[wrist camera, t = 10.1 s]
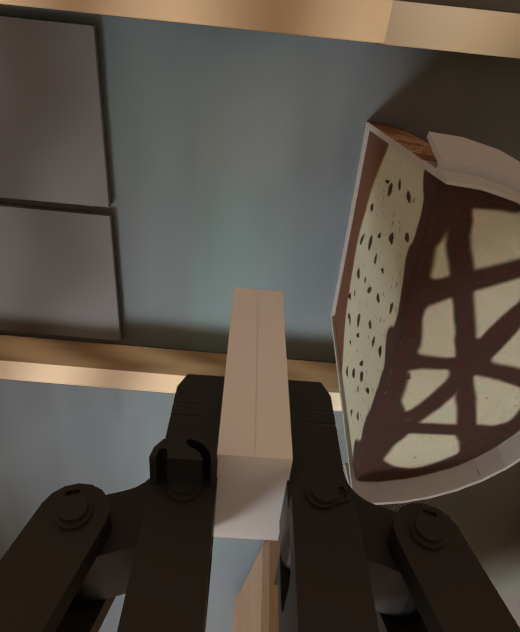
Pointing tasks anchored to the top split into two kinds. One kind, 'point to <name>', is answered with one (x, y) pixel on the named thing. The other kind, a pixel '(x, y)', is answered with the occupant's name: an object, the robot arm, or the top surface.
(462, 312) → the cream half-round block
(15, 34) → the trap channel
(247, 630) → the block
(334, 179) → the top surface
